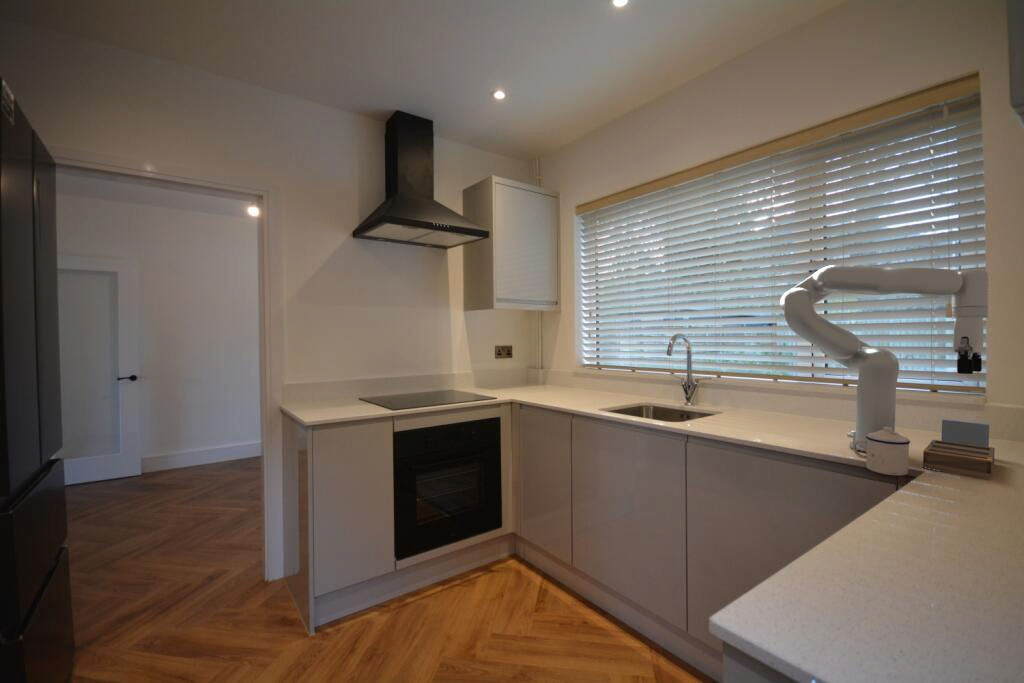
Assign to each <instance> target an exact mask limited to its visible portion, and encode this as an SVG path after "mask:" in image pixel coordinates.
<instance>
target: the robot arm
mask: <svg viewBox="0 0 1024 683" xmlns="http://www.w3.org/2000/svg"><path fill="white" fill-rule="evenodd" d="M832 293H840V294H855V295H856V294H858V295H859V294H860V295H867V296H868V295H870V296H871V295H872V296H875V295H876V296H885V295H886V296H887V295H895V294H896V295H897V294H898V295H899V294H917V295H920V296H922V297H924V298H939V297H947V296H951V319H954V324H953V335H952V336H953V338H952V351H953V353H957V357H956V358H957V360H956V373H957V374H960V375H961V374H963V375H973V374H974V372H978V373H979V372H980V373H981V372H982V369H983V368H982V366H983V364H982V363H983V361H982V359H983V358H982V353H981V352H982V351H983V350H984V319H988V318H989V274H988V271H987V270H984V269H968V270H967V269H966V270H959V271H955V270H953V269H949V268H932V267H931V268H929V267H892V266H889V267H888V266H865V265H864V266H859V265H838V264H832V265H827V266H823V267H822V268H820V269H818V270H817V271H815V272H814V273H813V274H811V275H810V276H809V277H807V278H805V279H804V280H802V281H801V282H799V283H798V284H796V285H795V286H793V287H792V288H790V289H789V290H787V291H786V292H785V293H783V294H782V296H781V298H780V302H779V304H780V307H781V309H782V310H783V314H784V318H785V321H786V323H787V325H788V327H789V329H791V331H793V333H795V335H797V336H799V337H800V338H802V339H803V340H805V341H806V342H809V344H812V345H814V346H815V347H817V348H819V350H820V351H821V353H822V354H823V355H825V356H827V357H828V358H829V359H832V360H833V361H835V362H837V363H839V364H840V365H842V366H843V367H846V368H848V369H849V370H851V371H853V372H855V373H857V374H858V380H857V386H856V411H855V412H856V414H855V416H856V417H855V418H856V419H855V430H851V431H850V432H847V433H846V436H847V437H848V438H851V439H852V441H851V442H849V448H850V449H852V448H853V443H854V442H855V441H857V440H866V441H867V438H866V436H867V434H869V433H874V432H877V431H880V430H883V427H891V428H893V431H894V432H896V405H897V404H896V403H897V402H896V400H897V399H896V397H897V386H898V385H897V384H898V378H899V373H900V364H899V359H898V358H897V356H896V355H895V354H894V353H893V352H891V351H889V350H888V349H885V348H880V347H873V346H872V345H870V344H868V343H866V342H864V341H862V340H861V339H859V337H858V336H857V335H856V334H855V333H853V332H851V331H849V330H846V329H845V328H843V327H841V326H838V325H836V324H834V323H833V322H831V321H829V320H828V319H826V318H825V317H822V316H820V315H819V314H818V313H817V312H816V310H815V308H814V307H815V306H814V305H816V304H817V303H818V302H820V301H822V300H823V299H824V298H826V297H827V296H829V295H831V294H832ZM856 449H857V451H858V450H861V451H860V452H862V451H866V452H865V453H867V443H857V444H856Z"/></svg>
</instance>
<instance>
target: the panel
mask: <svg viewBox="0 0 1024 683" xmlns="http://www.w3.org/2000/svg"><path fill="white" fill-rule="evenodd" d="M941 419H942V420H941V440H940V441H947V442H954V443H962V444H969V445H977V446H984V447H990V446H989V445H990V423H989V422H988V423H986V422H977V421H968V420H960V419H949V418H941Z"/></svg>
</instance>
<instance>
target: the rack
mask: <svg viewBox="0 0 1024 683" xmlns="http://www.w3.org/2000/svg"><path fill="white" fill-rule="evenodd" d="M995 450H996V449H995V447H990V446H989V447H984V446H977V445H969V444H962V443H954V442H947V441H941V440H939V439H932V440H931V442H930V443H929V444H928V445H927V446H926V447H925V448H924V450H923V458H922V459H923V460H922V468H923V467H926V468H930V469H935V470H934V471H936V470H940V471H939V472H942V471H945V472H944V473H948V472H950V473H949V474H953V473H955V475H959V476H960V475H961V476H965V477H972V478H978V479H984V480H990V481H991V480H992V477H993V471H994V465H995ZM930 469H929V470H930Z"/></svg>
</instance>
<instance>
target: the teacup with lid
mask: <svg viewBox="0 0 1024 683" xmlns="http://www.w3.org/2000/svg"><path fill="white" fill-rule="evenodd" d="M866 438H867V441H866V440H857V441H855V442H854V443H853V449H852V450H853V452H854V454H855V455H856V456H857V457H859V458H861V459H864V460H866V463H865V464H866V468H867V469H868V470H869V471H871V472H874V473H878V474H882V475H887V476H899V477H900V476H906V475H908V473H909V452H910V451H909V450H910V449H909V448H910V444H911V440H910V439H909V438H908V437H907V436H903V435H901V434H900V433H898V432H896V431H895V432H894V431H893V428H891V427H883V430H880V431H877V432H874V433H869V434H867V436H866ZM857 443H867V452H866V455H863V454H861V453H859V451H858V450H857V449H856V444H857Z"/></svg>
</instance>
